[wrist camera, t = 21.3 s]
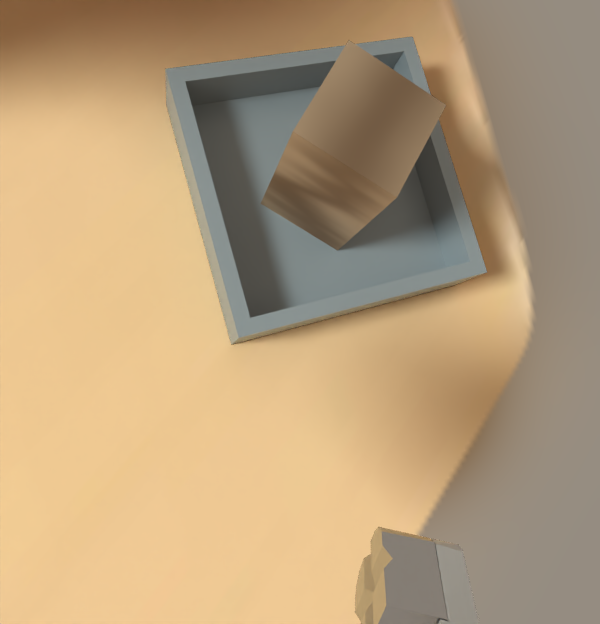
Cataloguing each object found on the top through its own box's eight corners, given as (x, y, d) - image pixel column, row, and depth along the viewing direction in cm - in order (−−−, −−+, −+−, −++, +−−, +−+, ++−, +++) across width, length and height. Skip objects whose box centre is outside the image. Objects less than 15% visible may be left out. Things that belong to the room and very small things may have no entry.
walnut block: (260, 203, 30) (293, 131, 22) (303, 133, 31) (349, 40, 23) (337, 250, 31) (397, 197, 22) (376, 180, 32) (446, 105, 24)
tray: (166, 104, 31) (165, 68, 27) (389, 72, 34) (412, 36, 31) (231, 344, 30) (238, 337, 26) (455, 285, 33) (487, 272, 30)
